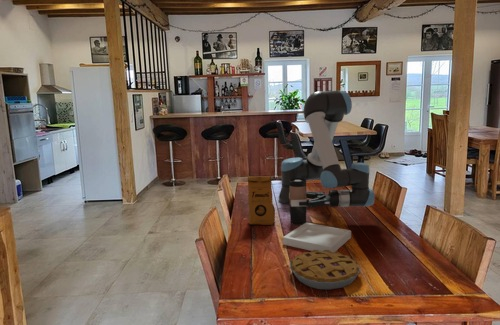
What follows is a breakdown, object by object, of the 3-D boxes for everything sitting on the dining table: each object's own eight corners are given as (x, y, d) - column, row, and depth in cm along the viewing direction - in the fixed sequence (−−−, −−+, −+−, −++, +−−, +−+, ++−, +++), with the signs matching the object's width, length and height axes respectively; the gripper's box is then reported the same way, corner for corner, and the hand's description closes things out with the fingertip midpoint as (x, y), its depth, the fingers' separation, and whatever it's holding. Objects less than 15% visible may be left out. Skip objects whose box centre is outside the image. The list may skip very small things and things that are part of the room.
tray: (282, 244, 146) (282, 237, 146) (306, 229, 162) (306, 222, 162) (331, 255, 135) (331, 247, 134) (351, 237, 151) (351, 230, 150)
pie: (314, 299, 106) (314, 283, 105) (278, 268, 126) (277, 254, 125) (374, 282, 115) (375, 267, 114) (332, 256, 134) (332, 243, 134)
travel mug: (308, 220, 173) (307, 178, 170) (305, 225, 166) (304, 181, 163) (291, 219, 176) (291, 177, 172) (288, 224, 169) (287, 181, 165)
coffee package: (274, 227, 166) (273, 178, 162) (246, 226, 168) (244, 178, 164) (276, 220, 175) (275, 174, 172) (250, 219, 178) (248, 174, 174)
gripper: (343, 214, 157) (292, 215, 158) (333, 199, 181) (288, 200, 182) (343, 197, 156) (291, 198, 157) (333, 184, 180) (288, 185, 180)
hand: (290, 199), depth 169 cm, fingers open, 12 cm apart
